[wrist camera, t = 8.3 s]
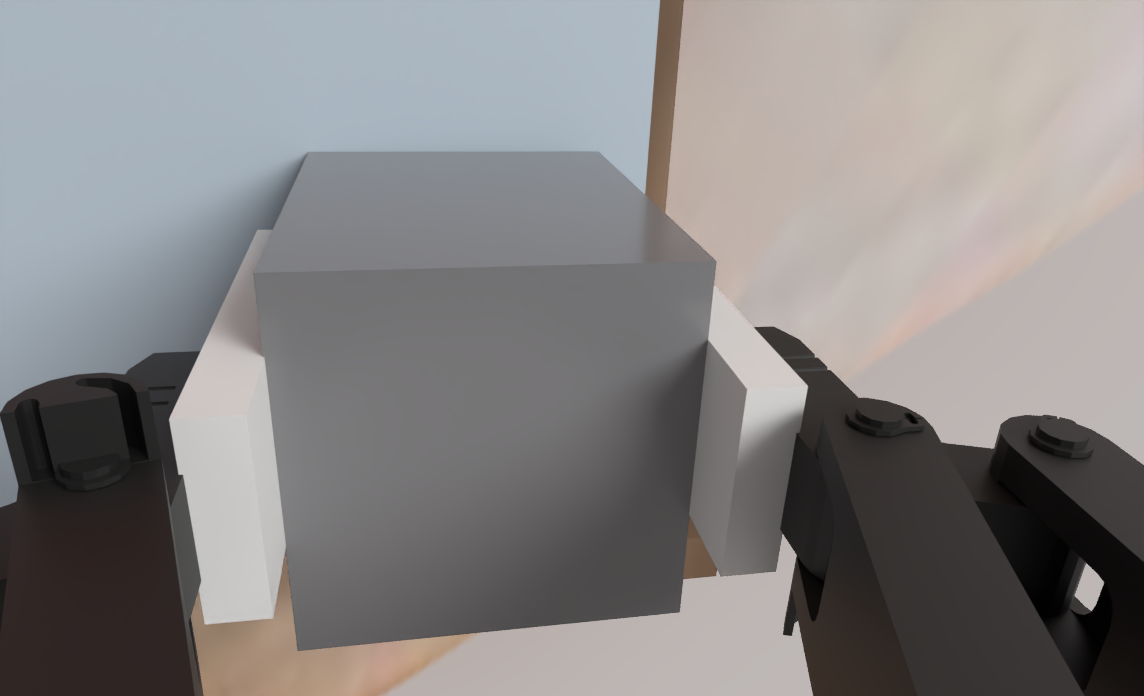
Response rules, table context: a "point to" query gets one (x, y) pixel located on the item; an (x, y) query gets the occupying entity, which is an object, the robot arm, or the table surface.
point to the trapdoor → (255, 141)
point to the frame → (656, 191)
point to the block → (480, 392)
